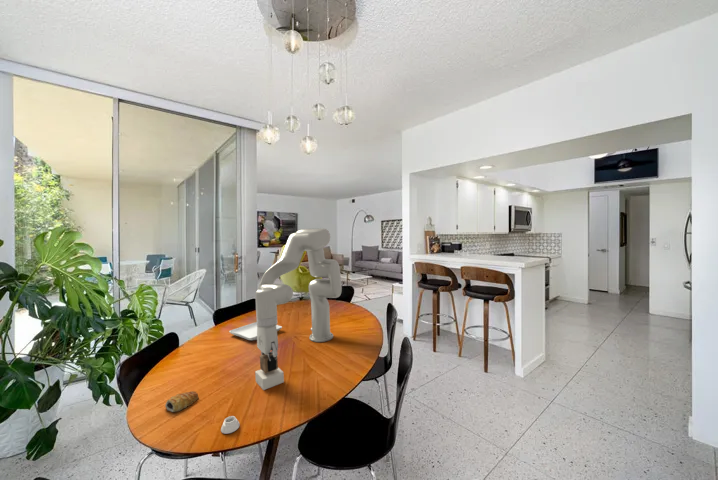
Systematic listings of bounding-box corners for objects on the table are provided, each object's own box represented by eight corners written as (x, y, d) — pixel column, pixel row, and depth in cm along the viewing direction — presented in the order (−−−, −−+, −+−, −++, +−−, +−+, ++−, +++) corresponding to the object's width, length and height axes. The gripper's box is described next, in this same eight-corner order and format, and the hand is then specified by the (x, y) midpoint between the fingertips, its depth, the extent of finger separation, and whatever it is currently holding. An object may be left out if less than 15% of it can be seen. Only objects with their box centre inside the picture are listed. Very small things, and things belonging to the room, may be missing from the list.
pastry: (191, 394, 103) (190, 384, 103) (202, 399, 100) (202, 389, 100) (163, 409, 95) (162, 398, 95) (175, 415, 92) (174, 404, 92)
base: (255, 381, 110) (255, 371, 110) (275, 374, 115) (275, 364, 115) (263, 390, 104) (262, 379, 104) (283, 382, 109) (283, 371, 109)
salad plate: (260, 325, 176) (260, 319, 176) (283, 331, 164) (283, 326, 164) (228, 336, 159) (227, 330, 159) (250, 344, 147) (250, 338, 146)
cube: (260, 368, 110) (259, 355, 110) (272, 364, 113) (272, 351, 113) (265, 373, 106) (264, 360, 106) (278, 368, 109) (277, 356, 109)
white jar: (217, 434, 83) (232, 435, 82) (216, 424, 83) (232, 425, 82) (228, 422, 88) (242, 423, 87) (227, 413, 87) (242, 414, 87)
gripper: (249, 317, 113) (251, 362, 114) (265, 329, 100) (268, 379, 101) (268, 313, 118) (270, 356, 119) (285, 324, 104) (287, 372, 105)
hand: (269, 366), depth 110 cm, fingers open, 5 cm apart
